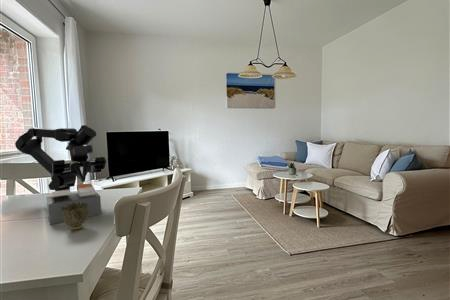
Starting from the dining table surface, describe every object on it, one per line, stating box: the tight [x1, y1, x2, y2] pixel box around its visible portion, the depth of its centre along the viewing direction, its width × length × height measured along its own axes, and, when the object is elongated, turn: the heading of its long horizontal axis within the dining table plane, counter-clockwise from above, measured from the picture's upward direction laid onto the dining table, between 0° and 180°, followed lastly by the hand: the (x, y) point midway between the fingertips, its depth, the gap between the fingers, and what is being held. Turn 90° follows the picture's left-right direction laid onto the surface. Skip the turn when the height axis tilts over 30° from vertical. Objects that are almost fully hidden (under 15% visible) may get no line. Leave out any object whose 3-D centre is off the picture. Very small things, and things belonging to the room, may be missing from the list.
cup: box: [61, 202, 88, 232], centre depth 79 cm, size 8×7×8 cm
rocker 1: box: [51, 189, 71, 197], centre depth 89 cm, size 8×5×2 cm, turn 38°
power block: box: [46, 190, 102, 225], centre depth 93 cm, size 12×16×7 cm
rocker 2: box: [76, 182, 96, 197], centre depth 94 cm, size 8×5×2 cm, turn 38°
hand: (83, 181), depth 97 cm, fingers closed
